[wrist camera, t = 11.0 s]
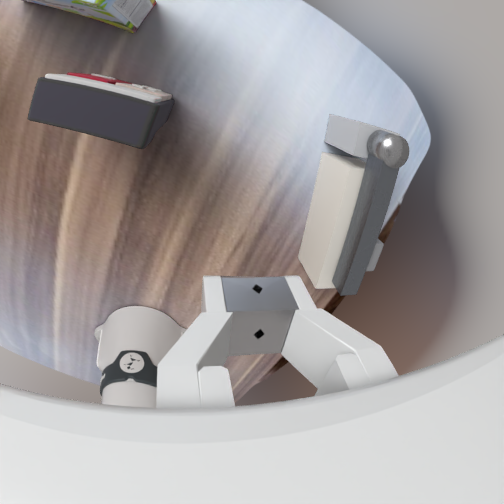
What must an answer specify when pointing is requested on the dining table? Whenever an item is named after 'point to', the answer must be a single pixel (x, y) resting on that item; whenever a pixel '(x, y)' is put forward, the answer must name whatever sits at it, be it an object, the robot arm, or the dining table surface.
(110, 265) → the dining table surface
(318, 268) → the door slab
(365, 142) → the post
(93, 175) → the dining table surface
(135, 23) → the snack box
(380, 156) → the swing bar
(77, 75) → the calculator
